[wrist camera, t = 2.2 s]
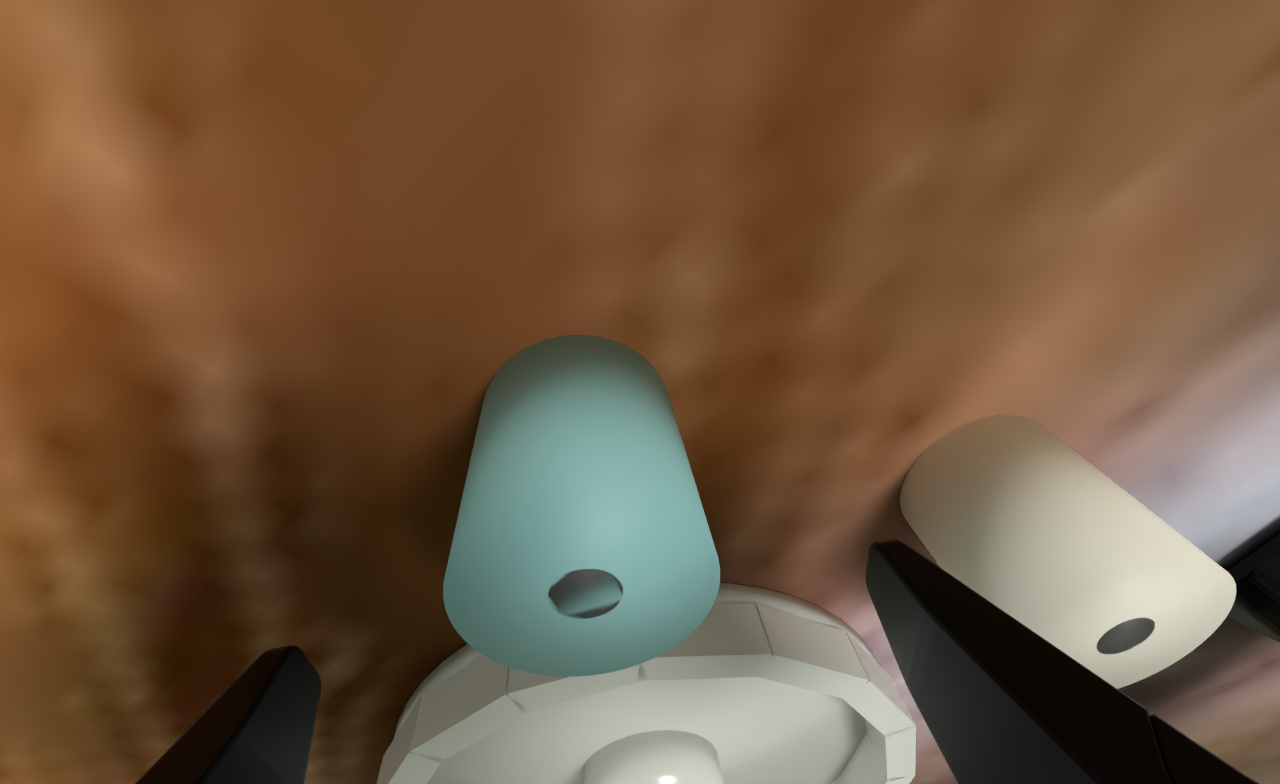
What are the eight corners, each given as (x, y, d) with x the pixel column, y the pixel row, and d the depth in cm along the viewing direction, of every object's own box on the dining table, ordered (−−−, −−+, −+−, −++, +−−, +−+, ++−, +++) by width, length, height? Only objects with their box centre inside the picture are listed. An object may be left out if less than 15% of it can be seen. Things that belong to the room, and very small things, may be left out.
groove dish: (980, 656, 21) (1025, 723, 19) (710, 867, 28) (722, 931, 26) (524, 508, 14) (518, 584, 12) (329, 829, 22) (305, 910, 20)
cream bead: (1084, 449, 16) (1276, 597, 12) (969, 551, 18) (1098, 712, 13) (983, 390, 14) (1161, 535, 10) (868, 509, 16) (978, 675, 12)
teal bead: (705, 383, 13) (774, 542, 9) (614, 511, 15) (635, 695, 11) (531, 301, 12) (513, 447, 7) (452, 455, 13) (402, 645, 9)
